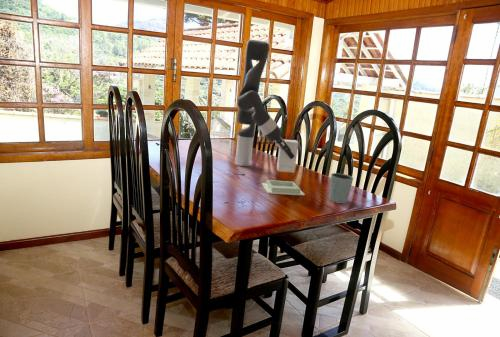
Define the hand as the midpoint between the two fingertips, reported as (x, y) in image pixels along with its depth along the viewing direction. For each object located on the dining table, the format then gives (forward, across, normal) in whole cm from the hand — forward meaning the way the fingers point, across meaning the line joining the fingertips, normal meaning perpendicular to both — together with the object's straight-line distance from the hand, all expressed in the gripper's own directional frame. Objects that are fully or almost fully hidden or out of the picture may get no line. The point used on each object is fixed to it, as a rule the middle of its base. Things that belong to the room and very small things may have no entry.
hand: (290, 156), depth 167 cm
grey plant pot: (+28, -11, -4) cm, 30 cm away
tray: (+11, 0, +13) cm, 17 cm away
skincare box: (+4, 0, +7) cm, 8 cm away
